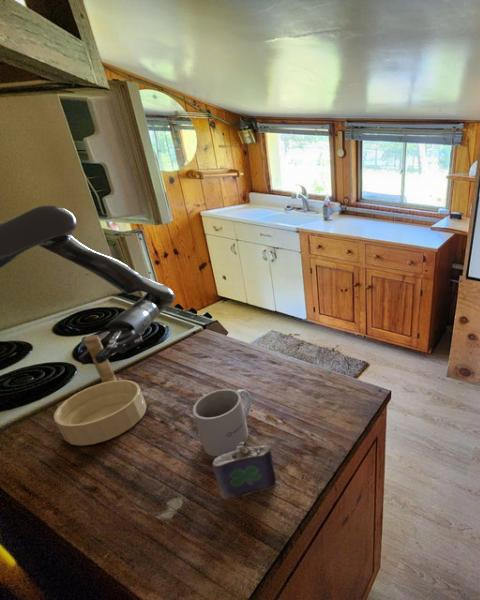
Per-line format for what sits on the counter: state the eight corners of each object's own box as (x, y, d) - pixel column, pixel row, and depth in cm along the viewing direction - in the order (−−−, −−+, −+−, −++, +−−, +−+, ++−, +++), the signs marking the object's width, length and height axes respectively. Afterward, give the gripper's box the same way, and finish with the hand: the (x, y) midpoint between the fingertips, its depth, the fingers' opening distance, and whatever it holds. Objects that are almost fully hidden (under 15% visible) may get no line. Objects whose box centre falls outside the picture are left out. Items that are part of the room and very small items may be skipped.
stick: (96, 393, 81) (73, 343, 74) (107, 381, 84) (86, 333, 78) (116, 391, 81) (96, 341, 75) (126, 379, 85) (107, 332, 79)
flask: (220, 502, 57) (208, 460, 53) (223, 488, 60) (211, 446, 55) (276, 487, 60) (269, 446, 56) (276, 474, 63) (269, 433, 58)
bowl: (47, 451, 65) (34, 430, 63) (92, 403, 77) (82, 383, 75) (127, 442, 68) (117, 421, 65) (158, 396, 80) (151, 377, 78)
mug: (221, 462, 64) (211, 425, 60) (194, 445, 68) (182, 409, 64) (270, 421, 74) (264, 387, 70) (244, 408, 78) (237, 374, 74)
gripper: (96, 314, 88) (48, 349, 73) (153, 311, 91) (119, 345, 76) (105, 338, 92) (61, 376, 76) (161, 334, 94) (129, 371, 79)
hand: (90, 360), depth 76 cm, fingers closed on stick, 2 cm apart
